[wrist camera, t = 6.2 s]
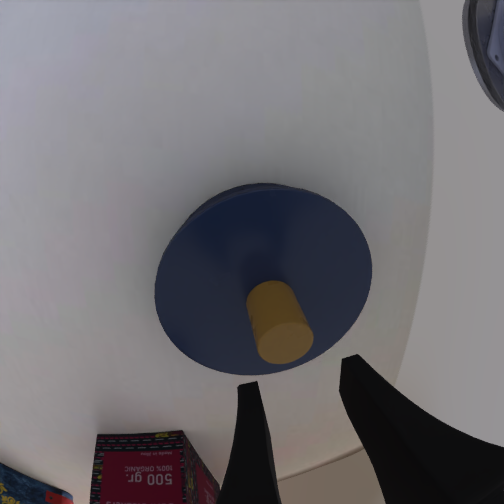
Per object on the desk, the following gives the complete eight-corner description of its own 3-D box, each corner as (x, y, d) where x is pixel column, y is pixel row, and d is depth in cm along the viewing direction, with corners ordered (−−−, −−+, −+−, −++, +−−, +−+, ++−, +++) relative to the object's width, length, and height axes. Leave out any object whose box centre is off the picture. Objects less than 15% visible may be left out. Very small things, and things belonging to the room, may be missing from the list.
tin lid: (396, 226, 16) (443, 264, 12) (307, 371, 20) (326, 421, 16) (196, 147, 12) (195, 166, 9) (138, 341, 17) (130, 401, 13)
